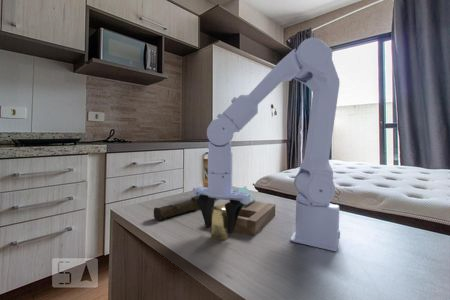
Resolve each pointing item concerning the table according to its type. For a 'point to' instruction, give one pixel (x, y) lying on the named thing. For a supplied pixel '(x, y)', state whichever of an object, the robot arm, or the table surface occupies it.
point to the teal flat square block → (245, 190)
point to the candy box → (205, 172)
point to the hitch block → (254, 217)
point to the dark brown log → (176, 209)
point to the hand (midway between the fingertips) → (219, 229)
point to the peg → (219, 223)
